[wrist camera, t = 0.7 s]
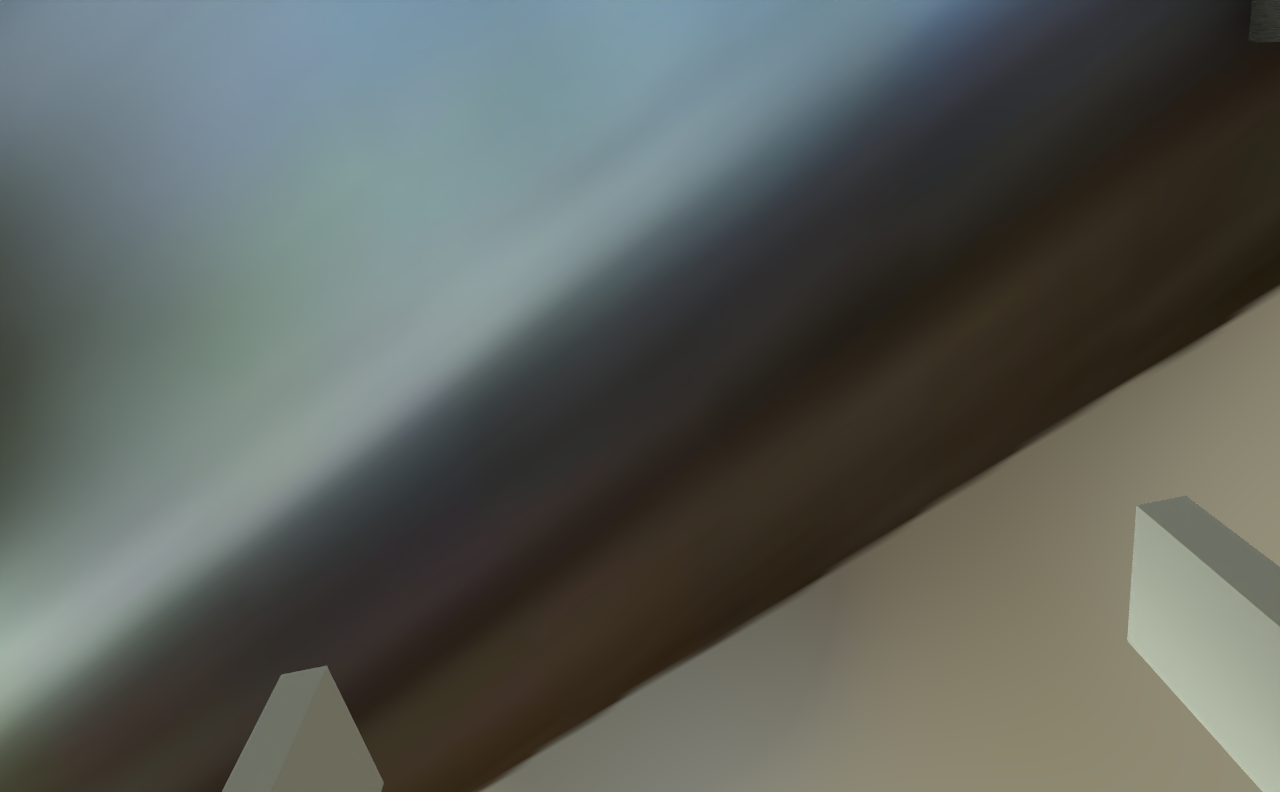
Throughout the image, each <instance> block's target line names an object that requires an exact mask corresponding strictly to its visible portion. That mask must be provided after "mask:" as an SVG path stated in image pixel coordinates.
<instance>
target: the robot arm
mask: <svg viewBox="0 0 1280 792" xmlns="http://www.w3.org/2000/svg"><path fill="white" fill-rule="evenodd" d="M1127 641H1128V642H1129V643H1130V644H1131V645H1132V646H1133V647H1134V648H1135V650H1136V651H1137V652H1138V653H1139V654H1140V655H1141V656H1142V657H1143V658H1144V660H1145V661H1146V662H1147V663H1148V664H1149V665H1150V666H1151V667H1152V669H1153V670H1154V671H1155V672H1156V673H1157V674H1158V675H1159V676H1160V678H1161V679H1162V680H1163V681H1164V682H1165V683H1166V684H1167V685H1168V686H1169V688H1170V689H1171V690H1172V691H1173V692H1174V693H1175V694H1176V695H1177V697H1178V698H1179V699H1180V700H1181V701H1182V702H1183V703H1184V704H1185V705H1186V707H1187V708H1188V709H1189V710H1190V711H1191V712H1192V713H1193V714H1194V715H1195V717H1196V718H1197V719H1198V720H1199V721H1200V722H1201V723H1202V724H1203V726H1204V727H1205V728H1206V729H1207V730H1208V731H1209V732H1210V733H1211V734H1212V736H1213V737H1214V738H1215V739H1216V740H1217V741H1218V742H1219V743H1220V744H1221V746H1222V747H1223V748H1224V749H1225V750H1226V751H1227V752H1228V754H1230V756H1231V757H1232V758H1233V759H1234V760H1235V761H1236V762H1237V763H1238V765H1239V766H1240V767H1241V768H1242V769H1243V770H1244V771H1245V773H1246V774H1247V775H1248V776H1249V777H1250V778H1251V779H1252V780H1253V781H1254V782H1255V784H1256V785H1257V786H1258V787H1259V788H1260V789H1261V790H1262V791H1263V792H1280V567H1279V566H1278V565H1276V564H1275V563H1274V562H1273V561H1271V560H1270V559H1269V558H1267V557H1266V556H1265V555H1263V554H1262V553H1261V552H1259V551H1258V550H1257V549H1255V548H1254V547H1253V546H1251V545H1250V544H1249V543H1248V542H1246V541H1245V540H1244V539H1242V538H1241V537H1240V536H1238V535H1237V534H1236V533H1234V532H1233V531H1232V530H1230V529H1229V528H1227V527H1226V526H1225V525H1224V524H1222V523H1221V522H1220V521H1218V520H1217V519H1216V518H1215V517H1213V516H1212V515H1210V514H1209V513H1208V512H1207V511H1205V510H1204V509H1203V508H1201V507H1200V506H1199V505H1197V504H1196V503H1195V502H1193V501H1192V500H1191V499H1190V498H1188V497H1187V496H1182V497H1177V498H1173V499H1167V500H1162V501H1157V502H1152V503H1147V504H1142V505H1137V508H1136V523H1135V537H1134V552H1133V566H1132V579H1131V595H1130V609H1129V623H1128V638H1127ZM383 783H384V782H383V780H382V778H381V776H380V774H379V772H378V770H377V768H376V766H375V764H374V762H373V760H372V758H371V756H370V754H369V752H368V750H367V748H366V746H365V743H364V741H363V739H362V737H361V735H360V733H359V731H358V729H357V727H356V725H355V723H354V721H353V719H352V717H351V715H350V713H349V711H348V709H347V707H346V705H345V702H344V700H343V698H342V696H341V694H340V692H339V690H338V688H337V686H336V684H335V682H334V680H333V678H332V676H331V674H330V672H329V670H328V668H327V666H323V667H318V668H313V669H308V670H303V671H298V672H293V673H288V674H283V675H281V676H280V678H279V680H278V682H277V684H276V686H275V688H274V690H273V692H272V694H271V696H270V698H269V700H268V702H267V704H266V706H265V708H264V710H263V712H262V714H261V716H260V718H259V720H258V722H257V724H256V726H255V728H254V730H253V732H252V734H251V736H250V738H249V740H248V741H247V743H246V745H245V747H244V749H243V751H242V753H241V755H240V757H239V759H238V761H237V763H236V765H235V767H234V769H233V771H232V773H231V775H230V777H229V779H228V781H227V783H226V785H225V787H224V789H223V791H222V792H381V790H382V786H383Z"/></svg>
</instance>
